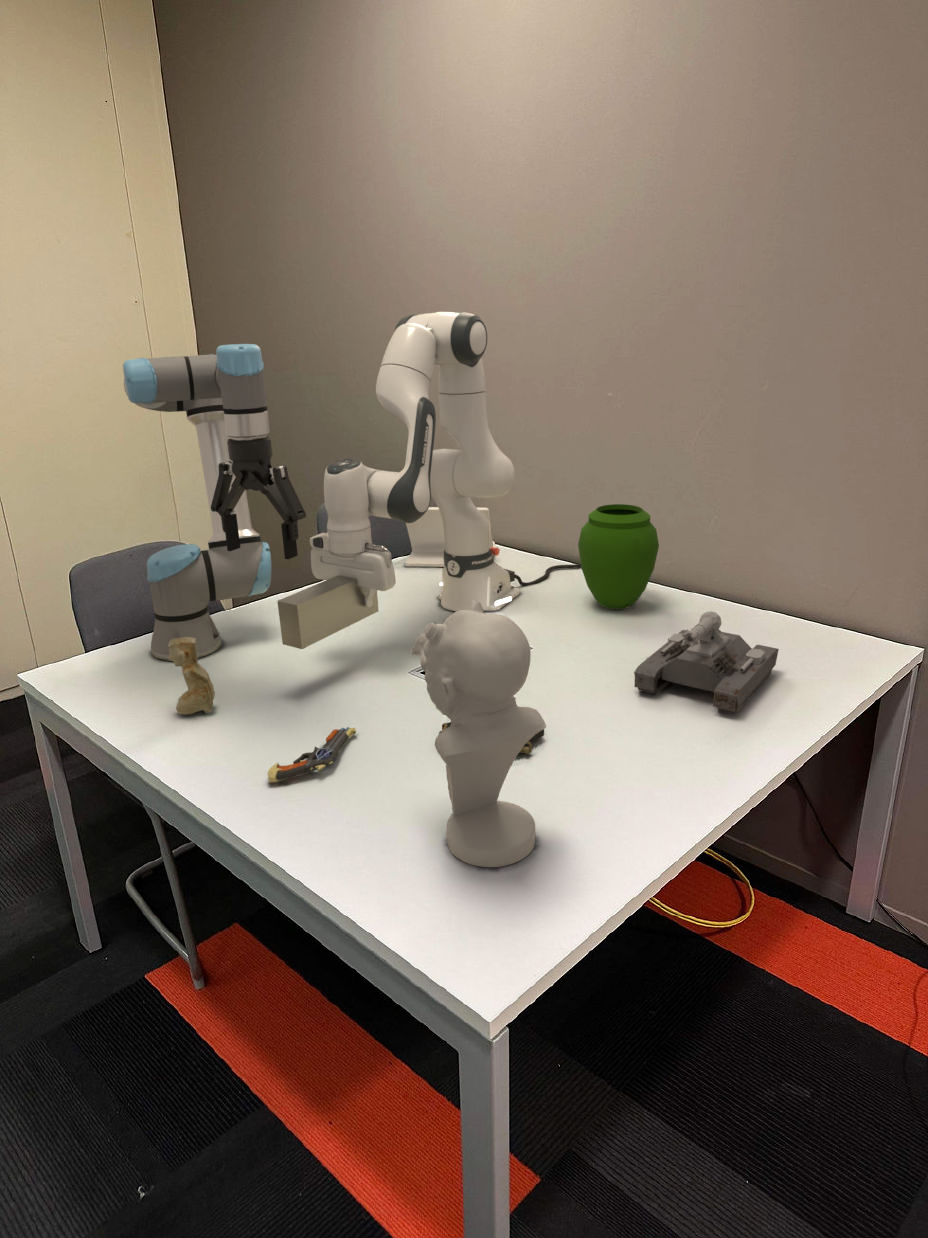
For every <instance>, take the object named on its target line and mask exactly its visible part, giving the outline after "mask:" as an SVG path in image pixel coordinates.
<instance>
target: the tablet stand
mask: <svg viewBox="0 0 928 1238" xmlns="http://www.w3.org/2000/svg"><path fill="white" fill-rule="evenodd" d="M476 508H477V509H478V510H480V511H481V512H482V513H483V514H484V515H485V516H486V517H487V519H488V523H489V548H491V547H494V548H496V543H495V541H494V540H493V533H492V524H491V523H492V522H491V515H490V509H489V507H476ZM405 525H406V529H407V534H408V538H409V542H410V546H411V553H410V554H409V556H408V557H407V559H406V560H405V562H404V566H405V567H423V568H424V567H426V568H427V567H429V568H430V567H431V568H432V567H433V568H434V567H435V568H438V567H439V568H440V567H441V568H444V567H445V565H444V559H443V556H444V550H445V536H444V525H443V520H442V516H441V513H440V510H439V508H438V506H435V507H434V506H433V507H432V506H429V508H428V510H427V511H426V513H425V514H424V515H423V516H422V517H421V518H420V519H418V520H417V521H415V522H413V523H405ZM492 556H493V557H494V555H492Z"/></svg>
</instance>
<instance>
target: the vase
mask: <svg viewBox="0 0 928 1238" xmlns="http://www.w3.org/2000/svg"><path fill="white" fill-rule="evenodd" d="M587 516H588V517H587V518H588V521H587V522H586V523H585V524H584V525H583V526H582V527H581V529H580V534H579V538H578V541H577V546H578V554H579V562H580V564H581V567H580V569H581V571H582V574H583V577H584V580H585V583H586V585H587V588H588V590H589V591H590V594H592V597H593V598H594V600H595V601H596V602H597V603H598V604H599V605H600V606H602V607H604V608H606V609H609V610H625V609H628V608H630V607H632V606H634V604H636V602H638V601H639V599H640V597H641V596H642V595H643V593H644V592H645V590H646V588H647V586H648V584H649V581H650V579H651V577H652V574H653V572H654V570H655V566H656V562H657V557H658V552H659V548H660V544H659V543H660V542H659V537H658V531H657V528H656V527H655V526H654V524H653V523H652V522H651V515H650V514H649V512H647V511H645V510H644V509H643V508H642V507H641V506H638V505H633V504H622V503H621V504H619V503H616V504H615V503H614V504H604V505H601V506H598V507H597V508H595V509H594V510H592V511H591V512H590V513H589V514H588V515H587Z"/></svg>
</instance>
